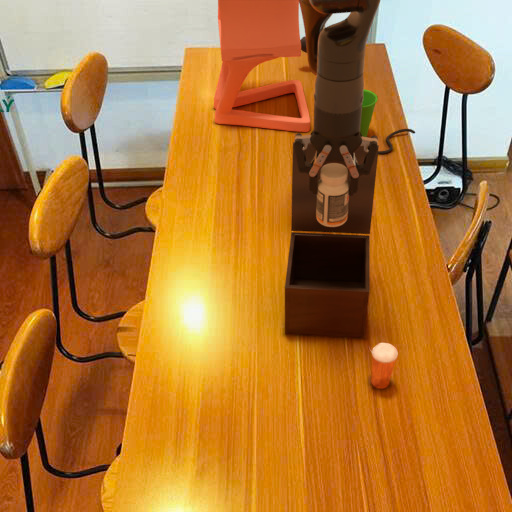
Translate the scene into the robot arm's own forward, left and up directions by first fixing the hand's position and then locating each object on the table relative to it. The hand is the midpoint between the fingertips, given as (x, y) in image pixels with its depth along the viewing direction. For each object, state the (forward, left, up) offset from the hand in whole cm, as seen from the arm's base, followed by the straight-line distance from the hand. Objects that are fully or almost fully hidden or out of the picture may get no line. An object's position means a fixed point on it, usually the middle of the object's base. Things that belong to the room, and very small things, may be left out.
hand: (332, 192), depth 120 cm
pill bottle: (0, 0, -6) cm, 6 cm away
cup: (-43, -50, -28) cm, 71 cm away
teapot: (-58, -85, -28) cm, 106 cm away
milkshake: (+3, +22, -28) cm, 35 cm away
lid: (-5, -7, -6) cm, 11 cm away
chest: (0, 0, -27) cm, 27 cm away
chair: (-28, -75, -28) cm, 85 cm away
